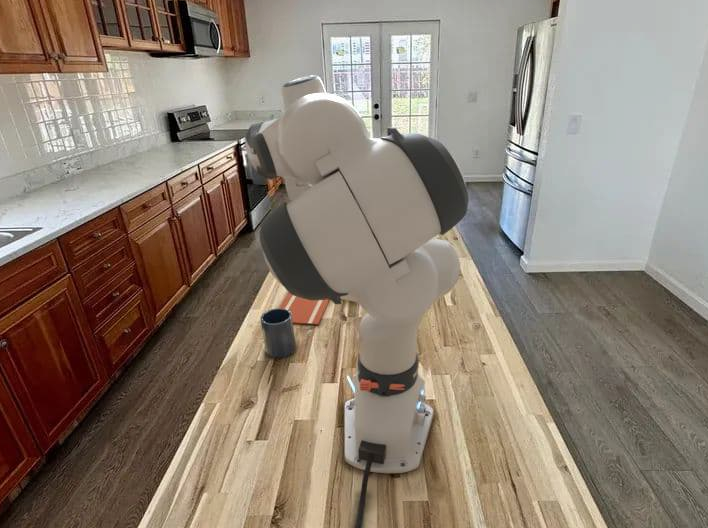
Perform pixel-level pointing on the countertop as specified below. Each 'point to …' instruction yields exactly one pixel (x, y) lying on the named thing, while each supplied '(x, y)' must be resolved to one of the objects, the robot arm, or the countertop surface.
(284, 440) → the countertop surface
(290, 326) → the cup
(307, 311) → the cloth
